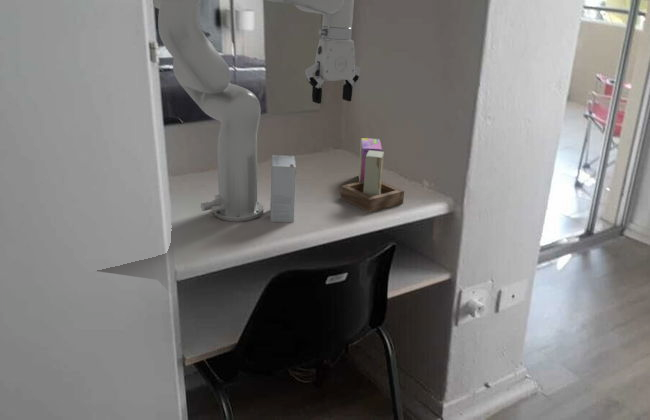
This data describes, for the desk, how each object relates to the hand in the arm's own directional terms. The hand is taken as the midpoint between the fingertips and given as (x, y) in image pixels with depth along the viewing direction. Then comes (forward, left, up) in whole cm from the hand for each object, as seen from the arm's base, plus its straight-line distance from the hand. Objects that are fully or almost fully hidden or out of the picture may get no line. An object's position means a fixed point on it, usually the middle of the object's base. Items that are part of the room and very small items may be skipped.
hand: (331, 101), depth 158 cm
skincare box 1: (-20, -8, -26) cm, 34 cm away
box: (+15, 0, -26) cm, 30 cm away
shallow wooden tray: (+6, -12, -25) cm, 29 cm away
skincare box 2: (+6, -12, -25) cm, 28 cm away
